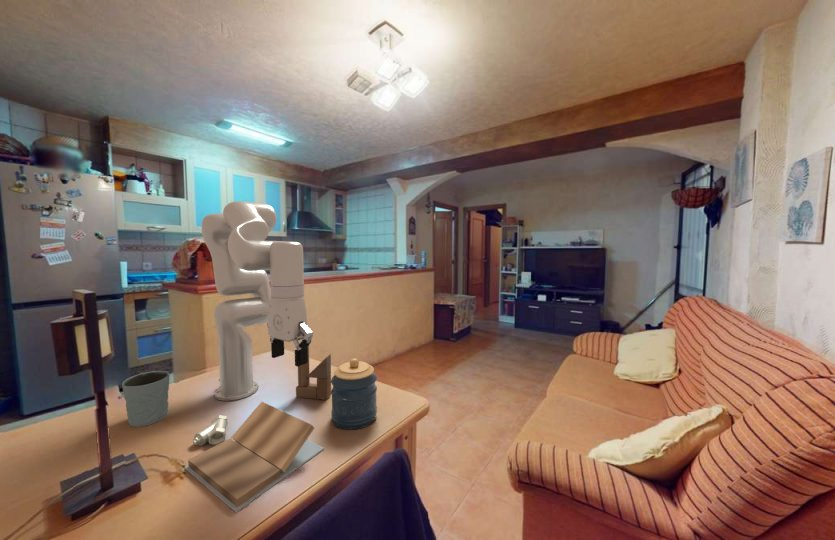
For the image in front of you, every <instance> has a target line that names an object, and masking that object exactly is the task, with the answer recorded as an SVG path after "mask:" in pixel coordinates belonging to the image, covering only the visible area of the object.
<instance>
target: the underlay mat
mask: <svg viewBox="0 0 835 540" xmlns="http://www.w3.org/2000/svg"><path fill="white" fill-rule="evenodd" d="M235 442H236V441H235ZM237 443H238V442H237ZM240 445H241V444H240ZM243 447H244V446H243ZM246 449H247V448H246ZM248 450H249V449H248ZM324 450H325V448H324V447H323V446H321V445H319V444H317V443H315V442H313V441H311V440H310V439H307V440H306V442H305V443H304V444H303V446H302V447H301V449H300V450H299V452H298V453H297V455H296V456H295V458H294V459H293V461H292V462H291V464H290V465H289V466H288V468H287V469H286V471H285V472H283V471H282V470H280V469H279V468H278V469H279V470H280V478H278V479H277V480H275V481H274V482H272V483H271V484H270V485H268V486H267V487H265V488H264V489H263V490H261V491H260V492H258V493H257V494H255V495H254V496H253V497H251V498H250V499H248V500H247V501H246V502H244V503H243V504H241V505H240V506H238V507H236V506H235V505H234V504H233V503H232V502H230V501H229V500H228V499H227V498H226V497H224V496H223V495H222V494H221V493H220V492H218V491H217V490H216V489H215V488H214V487H212V486H211V485H210V484H209V483H208V482H206V481H205V480H204V479H203V478H202V477H200V476H199V475H198V474H197V473H196V472H194V471H193V470H192V469H191V468H190V467H189V466H188V465H186V466H184V469H185V470H186V471H187V472H188V473H190V475H192V476H193V477H194V478H195V479H196V480H197V481H199V482H200V483H201V484H202V485H203V486H205V487H206V488H207V489H208V490H209V491H210V492H211V493H212V494H214V495H215V496H216V497H217V498H219V500H221V501H222V502H223V503H224V504H226V505H227V506H228V507H229V508H231V510H232V511H234V512H235V513H238V512H239V511H241V510H242V509H243V508H245V507H246V506H248V504H250V503H252V502H253V501H254V500H256V499H257V498H258V497H260V496H261V495H263V494H264V493H265V492H267V491H268V490H270V489H271V488H272V487H274V486H276V485H277V484H278V483H279V482H280V481H282V480H284V479H285V478H286V477H288V476H289V475H290V474H292V473H293V472H295V471H296V470H297V469H299V468H300V467H301V466H303V465H304V464H306V463H307V462H308V461H310V460H311V459H312V458H315V456H317V455H319V453H321V452H323V451H324ZM251 452H252V451H251ZM254 454H255V453H254ZM256 455H257V454H256ZM257 456H258V455H257ZM259 457H260V456H259ZM262 459H263V458H262ZM265 461H266V460H265ZM267 462H268V461H267ZM268 463H269V462H268ZM270 464H271V463H270ZM273 466H274V465H273ZM275 467H276V466H275ZM276 468H277V467H276Z"/></svg>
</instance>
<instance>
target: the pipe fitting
mask: <svg viewBox="0 0 835 540" xmlns="http://www.w3.org/2000/svg"><path fill="white" fill-rule="evenodd" d="M228 424H229V423H228V416H226V415H217V416H216V417H215V418H214V419H212V420H211V424H209V425H207V426H206V427H205V428H203V429H201V430H200V431H199V432H197V433H195V434H194V436H193V438H194V439H193V441H192V445H194V446H201V447H203V446H205V445H206V444H207V443H208V444H209V445H213V446H216V445H218V444H220V443H222V442H224V441H226V437H227V436H226V434H227V433H226V431H227V427H228Z"/></svg>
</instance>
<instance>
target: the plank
mask: <svg viewBox="0 0 835 540" xmlns="http://www.w3.org/2000/svg"><path fill="white" fill-rule="evenodd" d="M314 430H315V427H314V426H313V425H312V424H311V423H309V422H306V421H304V420H302V419H300V418H298V417H297V416H293V415H291V414H289V413H287V412H285V411H283V410H281V409H279V408H277V407H275V406H272V405H270V404H268V403H266V402H263V401H261V402H259V404H258V405H257V406H256V408H255V409H254V410H253V411H252V412H251V413H250V415H249V416H248V417H247V418H246V420H245V421H244V422H243V423H242V424H241V425H240V426H239V428H238V429H237V430H236V431H235V432H234V433H233V434H232V436H231V437H230V438H231V439H232V440H234V441H236V442H238V443H239V444H241V445H242V446H244V447H245V448H247V449H249V450H250V451H252V452H253V453H255V454H257V455H258V456H260V457H261V458H263V459H264V460H266V461H268V462H269V463H271V464H272V465H274V466H276V467H277V468H279V469H280V470H282V471H283V472H285V471H286V469H287V468H288V466H289V465H290V464H291V462H292V461H293V459H294V458H295V456H296V455H297V453H298V452H299V450H300V449H301V447H302V446H303V444H304V443H305V442H306V440H307V439H308V438H309V437H310V436H311V434H312V433H313V431H314ZM308 440H309V439H308Z"/></svg>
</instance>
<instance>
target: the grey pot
mask: <svg viewBox="0 0 835 540" xmlns="http://www.w3.org/2000/svg"><path fill="white" fill-rule="evenodd" d="M170 374H171V373H170V372H169V371H166V370H152V371H148V372H147V371H146V372H141V373H139V374H136V375H133V376H130V377H128V378H126V379H125V380H123V382H122V383H121V386H122V393H123V395H124V400H125V407H126V416H127V423H128V426H130V427H145V426H149V425H151V424H154V423H157V422H159V421H161V420H163V419H165V418H166V417H167V416H168V414H169V389H170Z"/></svg>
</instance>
